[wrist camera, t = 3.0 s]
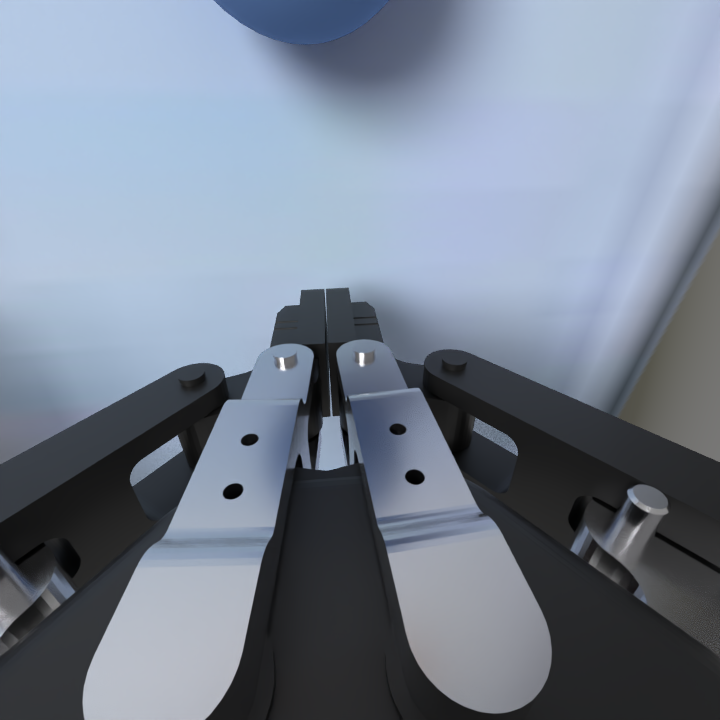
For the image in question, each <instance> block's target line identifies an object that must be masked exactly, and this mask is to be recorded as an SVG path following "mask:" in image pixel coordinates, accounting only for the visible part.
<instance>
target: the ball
mask: <svg viewBox="0 0 720 720" xmlns="http://www.w3.org/2000/svg"><path fill="white" fill-rule="evenodd" d="M214 1H215V2H216V3H217V4H218V5H219V6H220V7H221V8H222V9H223V10H224V11H226V12H227V13H228V14H230V15H231V16H232V17H234V18H235V19H236V20H238V21H239V22H240V23H242V24H244V25H245V26H247V27H249V28H251V29H252V30H254V31H256V32H258V33H259V34H262V35H264V36H267V37H269V38H272V39H274V40H278V41H282V42H287V43H291V44H305V45H307V44H318V43H324V42H328V41H332V40H335V39H338V38H340V37H343V36H345V35H347V34H349V33H351V32H353V31H354V30H356V29H357V28H359V27H361V26H362V25H364V24H365V23H366V22H368V21H369V20H370V19H371V18H372V17H373V16H374V15H375V14H377V13H378V12H379V11H380V10H381V9H382V8H383V7H384V5H385V4H386V3H387V2H388V1H389V0H214Z"/></svg>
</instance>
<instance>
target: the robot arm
mask: <svg viewBox="0 0 720 720" xmlns="http://www.w3.org/2000/svg"><path fill="white" fill-rule="evenodd" d="M326 303H327V321H326V307H325V293H324V289H314V290H301V298H300V305H294V306H285V307H284V308H283V309H282V310H281V311H280V312H278V313H277V318H276V323H275V327H274V332H273V336H272V341H271V346H270V348H268V349H266V350H265V351H263V352H262V353H261V354H260V355H259V356H258V358H257V361H256V363H255V366H254V368H253V370H252V371H249V372H247V373H243V374H240V375H236V376H231V377H227V378H225V374H224V371H223V369H222V368H221V367H219V366H217V365H214V364H209V363H198V364H192V365H188V366H184V367H181V368H179V369H177V370H175V371H173V372H171V373H169V374H167V375H165V376H164V377H162V378H160V379H158V380H156V381H154V382H152V383H151V384H149V385H147V386H145V387H143V388H141V389H139V390H138V391H136V392H134V393H132V394H130V395H128V396H127V397H125V398H123V399H121V400H119V401H117V402H115V403H114V404H112V405H110V406H108V407H106V408H104V409H102V410H101V411H99V412H97V413H95V414H93V415H91V416H90V417H88V418H86V419H84V420H82V421H80V422H78V423H77V424H75V425H73V426H71V427H69V428H67V429H65V430H64V431H62V432H60V433H58V434H56V435H54V436H53V437H51V438H49V439H47V440H45V441H43V442H41V443H40V444H38V445H36V446H34V447H32V448H30V449H28V450H27V451H25V452H23V453H21V454H19V455H17V456H16V457H14V458H12V459H10V460H8V461H6V462H4V463H3V464H1V465H0V720H720V462H718V461H715V460H713V459H711V458H708V457H706V456H704V455H702V454H699V453H697V452H695V451H692V450H690V449H688V448H685V447H683V446H681V445H679V444H676V443H674V442H672V441H669V440H667V439H665V438H662V437H660V436H658V435H655V434H653V433H651V432H649V431H647V430H644V429H642V428H640V427H637V426H635V425H632V424H630V423H628V422H626V421H623V420H621V419H619V418H617V417H614V416H612V415H610V414H608V413H605V412H603V411H601V410H598V409H596V408H594V407H591V406H589V405H587V404H585V403H582V402H580V401H578V400H575V399H573V398H571V397H569V396H566V395H564V394H562V393H559V392H557V391H555V390H552V389H550V388H548V387H546V386H543V385H541V384H539V383H536V382H534V381H532V380H530V379H527V378H525V377H523V376H520V375H518V374H516V373H514V372H511V371H509V370H507V369H504V368H502V367H500V366H497V365H495V364H493V363H491V362H488V361H486V360H484V359H481V358H479V357H477V356H475V355H472V354H470V353H467V352H464V351H459V350H439V351H436V352H433V353H431V354H429V355H428V356H427V357H426V359H425V362H424V365H418V364H411V363H406V362H402V361H399V360H397V359H395V358H394V356H393V354H392V351H391V349H390V348H389V347H388V346H387V345H385V344H384V343H383V339H382V336H381V332H380V328H379V325H378V321H377V318H376V313H375V310H374V308H373V307H372V306H370V305H369V304H368V303H367V302H352V303H351V300H350V294H349V288H334V289H326ZM328 354H329V356H328ZM329 369H330V383H331V397H332V411H333V416H340V426H341V440H342V446H343V452H344V458H345V464H346V466H344V467H341V468H337V469H334V470H329V471H322V470H318V468H319V458H320V449H321V428H322V424H323V417H329V416H330V388H329ZM475 417H476V418H478V419H479V420H481V421H483V422H485V423H487V424H488V425H490V426H492V427H494V428H496V429H498V430H499V431H501V432H503V433H505V434H506V435H508V436H509V437H510V438H511V439H512V440H513V441H514V442H515V444H516V446H517V448H518V456H516V455H514V454H513V453H511V452H509V451H508V450H506V449H504V448H502V447H501V446H499V445H497V444H495V443H494V442H492V441H490V440H488V439H487V438H485V437H483V436H481V435H480V434H478V433H476V432H475V431H473V427H474V422H475ZM177 435H178V437H179V440H180V443H181V446H182V448H183V451H182V452H180V453H179V454H178V455H176V456H175V457H173V458H172V459H171V460H169V461H168V462H166V463H165V464H164V465H162V466H161V467H160V468H158V469H157V470H155V471H154V472H153V473H151V474H150V475H148V476H147V477H146V478H144V479H143V480H141V481H140V482H139V483H137V484H136V485H134V486H133V487H132V486H131V483H130V474H131V472H132V469H133V468H134V466H135V465H136V464H137V463H138V462H139V461H140V460H141V459H143V458H144V457H146V456H147V455H149V454H150V453H152V452H153V451H155V450H156V449H158V448H159V447H160V446H162V445H163V444H165V443H166V442H168V441H169V440H171V439H172V438H174V437H175V436H177Z"/></svg>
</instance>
